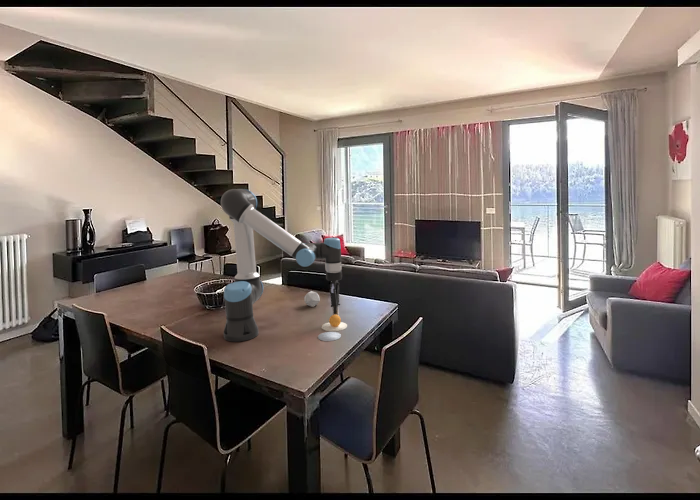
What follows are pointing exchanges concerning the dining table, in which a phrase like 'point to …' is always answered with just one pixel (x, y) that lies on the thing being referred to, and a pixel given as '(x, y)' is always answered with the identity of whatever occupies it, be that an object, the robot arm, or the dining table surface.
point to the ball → (334, 320)
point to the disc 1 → (332, 328)
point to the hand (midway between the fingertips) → (336, 319)
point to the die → (311, 298)
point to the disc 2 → (329, 336)
